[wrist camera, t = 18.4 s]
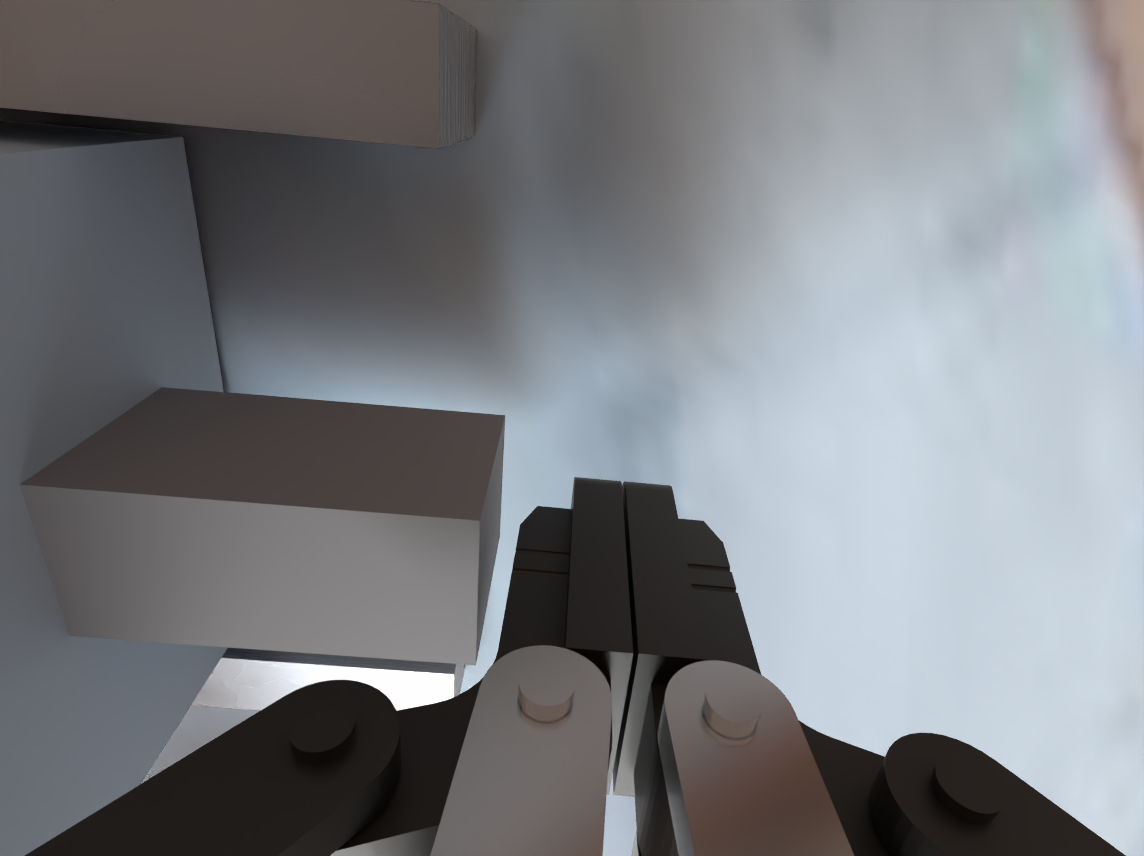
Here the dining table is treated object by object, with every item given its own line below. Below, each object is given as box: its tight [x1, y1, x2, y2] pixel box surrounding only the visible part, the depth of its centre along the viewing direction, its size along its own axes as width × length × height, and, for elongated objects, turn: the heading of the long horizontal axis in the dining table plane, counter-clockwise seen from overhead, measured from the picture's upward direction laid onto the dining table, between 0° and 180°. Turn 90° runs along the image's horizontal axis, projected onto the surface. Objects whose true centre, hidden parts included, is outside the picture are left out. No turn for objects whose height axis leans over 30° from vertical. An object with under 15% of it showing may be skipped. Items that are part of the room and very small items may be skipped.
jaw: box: [0, 121, 505, 856], centre depth 8 cm, size 8×10×11 cm
